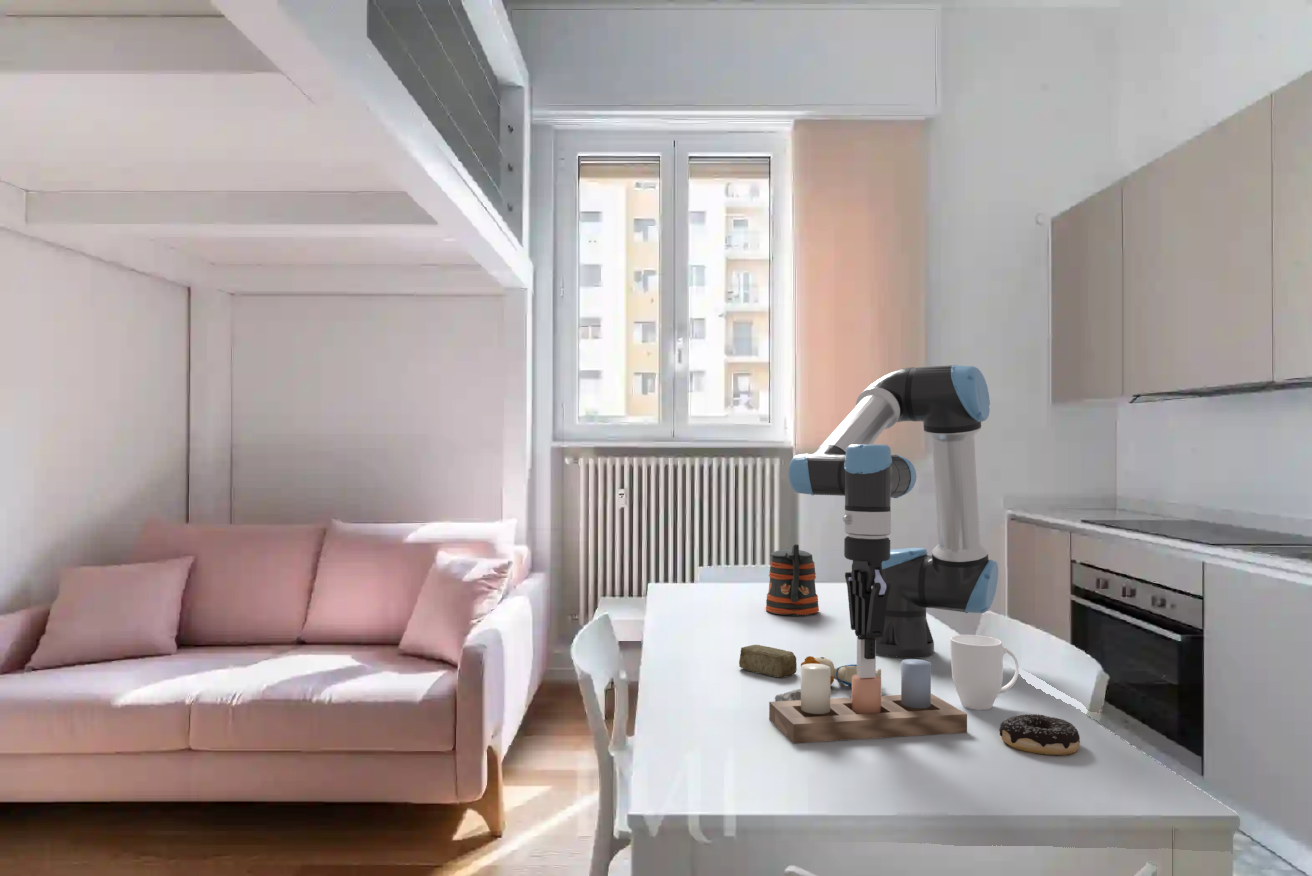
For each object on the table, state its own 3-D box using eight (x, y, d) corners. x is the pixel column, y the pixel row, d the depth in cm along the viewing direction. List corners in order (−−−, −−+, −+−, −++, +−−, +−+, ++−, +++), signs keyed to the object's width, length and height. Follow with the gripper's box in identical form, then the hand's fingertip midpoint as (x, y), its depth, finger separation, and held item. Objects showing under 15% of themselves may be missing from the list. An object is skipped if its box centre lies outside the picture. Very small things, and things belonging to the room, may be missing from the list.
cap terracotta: (873, 714, 150) (873, 673, 150) (885, 723, 145) (886, 681, 145) (846, 715, 149) (847, 674, 149) (858, 725, 144) (858, 682, 144)
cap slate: (921, 699, 151) (922, 658, 152) (936, 707, 147) (936, 665, 147) (896, 700, 151) (896, 659, 151) (909, 708, 146) (909, 666, 146)
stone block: (782, 680, 175) (782, 655, 175) (736, 670, 183) (736, 646, 183) (798, 675, 179) (798, 650, 179) (753, 665, 187) (753, 642, 187)
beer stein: (828, 620, 233) (828, 545, 233) (773, 620, 233) (773, 545, 233) (812, 606, 252) (813, 537, 252) (762, 606, 251) (762, 537, 252)
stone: (756, 714, 154) (756, 691, 154) (789, 696, 164) (789, 674, 164) (789, 722, 150) (789, 698, 150) (820, 703, 160) (820, 681, 160)
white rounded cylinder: (823, 704, 148) (823, 663, 148) (834, 713, 143) (835, 670, 143) (796, 705, 147) (796, 664, 147) (806, 714, 142) (807, 671, 142)
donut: (1089, 761, 132) (1089, 734, 132) (1006, 755, 134) (1006, 729, 134) (1068, 736, 143) (1068, 712, 143) (992, 732, 145) (992, 707, 145)
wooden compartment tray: (930, 710, 156) (930, 693, 156) (967, 732, 144) (967, 714, 144) (769, 719, 150) (769, 701, 150) (793, 743, 138) (793, 724, 138)
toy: (884, 660, 165) (804, 649, 167) (882, 693, 163) (801, 681, 165) (875, 668, 176) (800, 657, 178) (873, 699, 174) (797, 688, 176)
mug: (958, 712, 154) (958, 643, 155) (944, 699, 163) (944, 634, 164) (1026, 713, 154) (1025, 644, 154) (1009, 700, 163) (1008, 635, 163)
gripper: (831, 532, 153) (830, 667, 153) (862, 540, 140) (861, 688, 140) (871, 531, 154) (870, 666, 154) (906, 539, 141) (905, 686, 141)
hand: (866, 676), depth 147 cm, fingers closed
